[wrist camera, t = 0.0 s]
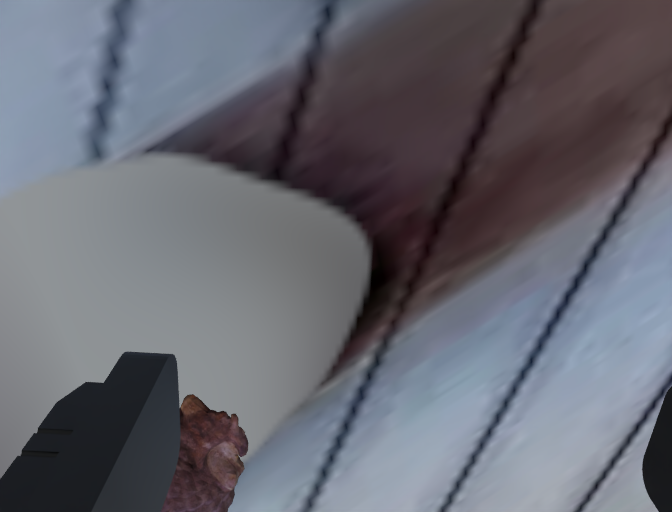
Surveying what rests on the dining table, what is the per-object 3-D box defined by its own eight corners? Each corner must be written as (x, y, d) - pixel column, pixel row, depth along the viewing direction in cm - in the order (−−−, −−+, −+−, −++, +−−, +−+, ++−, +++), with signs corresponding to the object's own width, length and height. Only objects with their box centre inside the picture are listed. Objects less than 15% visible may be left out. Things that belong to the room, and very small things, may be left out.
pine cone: (197, 533, 50) (166, 648, 41) (90, 493, 48) (33, 604, 39) (284, 388, 44) (271, 484, 35) (167, 336, 42) (120, 423, 33)
